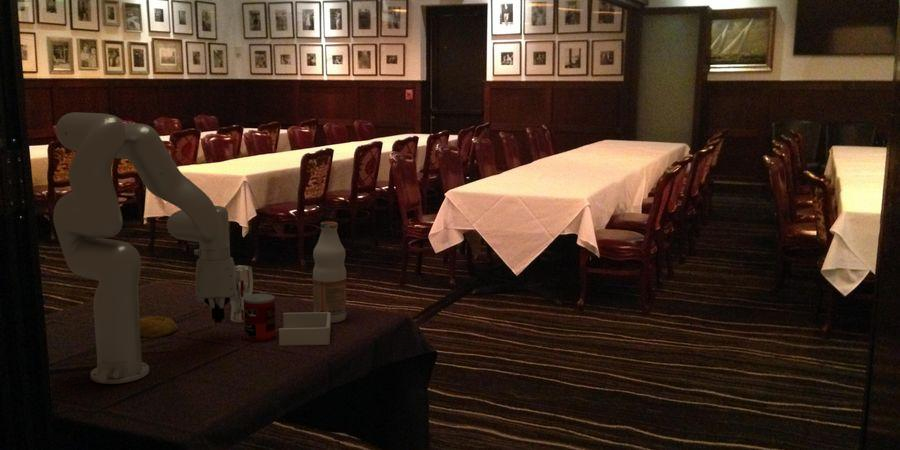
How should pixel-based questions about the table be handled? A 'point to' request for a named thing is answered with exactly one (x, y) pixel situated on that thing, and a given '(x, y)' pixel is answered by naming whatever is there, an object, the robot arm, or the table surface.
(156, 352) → the table surface
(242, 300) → the beer glass
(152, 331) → the bagel
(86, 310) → the table surface
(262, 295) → the canned food
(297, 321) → the box
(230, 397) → the table surface
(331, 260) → the fruit juice
